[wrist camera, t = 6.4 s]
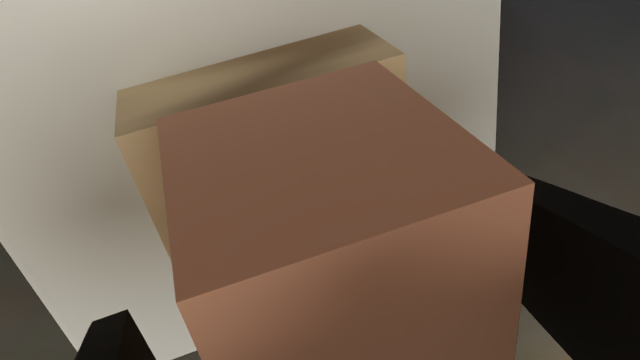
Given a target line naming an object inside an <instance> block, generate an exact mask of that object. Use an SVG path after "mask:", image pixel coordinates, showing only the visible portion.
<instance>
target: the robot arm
mask: <svg viewBox="0 0 640 360" xmlns="http://www.w3.org/2000/svg"><path fill="white" fill-rule="evenodd" d="M527 177H528V178H529V179H531V180H532V181H533V182H535V187H534V195H533V204H532V213H531V221H530V230H529V239H528V247H527V256H526V265H525V274H524V282H523V291H522V300H521V303H522V304H523V305H524V306H525V308H526V309H527V310H528V311H529V312H530V313H531V314H532V315H533V317H534V318H535V319H536V320H537V321H538V322H539V323H540V324H541V325H542V326H543V328H544V329H545V330H546V331H547V332H548V333H549V334H550V335H551V336H552V337H553V338H554V340H555V341H556V342H557V343H558V344H559V345H560V346H561V347H562V348H563V349H564V350H565V352H566V353H567V354H568V355H569V356H570V357H571V358H572V359H573V360H640V217H639V216H637V215H634V214H631V213H628V212H625V211H623V210H620V209H617V208H614V207H611V206H609V205H606V204H603V203H601V202H598V201H595V200H592V199H590V198H587V197H584V196H582V195H579V194H576V193H574V192H571V191H568V190H566V189H563V188H560V187H557V186H555V185H552V184H549V183H546V182H544V181H541V180H538V179H535V178H532V177H529V176H527ZM75 360H156V358H155V356H154V355H153V353H152V351H151V349H150V348H149V346H148V344H147V342H146V341H145V339H144V337H143V335H142V334H141V332H140V330H139V328H138V327H137V325H136V323H135V321H134V320H133V318H132V316H131V314H130V312H129V311H128V309H127V310H124V311H121V312H118V313H115V314H112V315H109V316H107V317H104V318H101V319H98V320H95V321H92V323H91V325H90V326H89V328H88V330H87V333H86V335H85V337H84V339H83V341H82V344H81V346H80V348H79V350H78V353H77V355H76V357H75Z"/></svg>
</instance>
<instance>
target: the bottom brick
mask: <svg viewBox="0 0 640 360" xmlns="http://www.w3.org/2000/svg"><path fill="white" fill-rule="evenodd" d="M375 60H376V61H377V62H378V63H380V64H381V65H382V66H383V67H385V68H386V69H387V70H389V71H390V72H391V73H393V74H394V75H395V76H397V77H398V78H399V79H400V80H402V81H403V82H404V83H406V84H407V76H406V62H405V53H403V52H402V51H400V50H399V49H397V48H396V47H394V46H393V45H391V44H390V43H388V42H387V41H385V40H384V39H382V38H381V37H379V36H378V35H376V34H374V33H373V32H371V31H370V30H368V29H367V28H365V27H364V26H362V25H361V24H358V25H355V26H351V27H347V28H344V29H340V30H337V31H333V32H329V33H326V34H322V35H318V36H315V37H311V38H307V39H304V40H300V41H296V42H293V43H289V44H285V45H282V46H278V47H275V48H271V49H267V50H264V51H260V52H256V53H253V54H249V55H245V56H242V57H238V58H234V59H231V60H227V61H223V62H220V63H216V64H213V65H209V66H205V67H202V68H198V69H194V70H191V71H187V72H183V73H180V74H176V75H172V76H169V77H165V78H162V79H158V80H154V81H151V82H147V83H143V84H140V85H136V86H132V87H129V88H125V89H121V90H118V91H117V102H116V119H115V136H114V138H115V140H116V142H117V144H118V147H119V149H120V151H121V153H122V155H123V157H124V160H125V162H126V164H127V166H128V168H129V171H130V173H131V175H132V177H133V179H134V181H135V184H136V186H137V188H138V190H139V192H140V195H141V197H142V199H143V201H144V203H145V205H146V208H147V210H148V212H149V214H150V216H151V219H152V221H153V223H154V225H155V227H156V229H157V232H158V234H159V236H160V238H161V240H162V242H163V245H164V247H165V249H166V251H167V253H168V256H169V258H170V260H171V252H170V243H169V233H168V224H167V214H166V205H165V196H164V186H163V177H162V167H161V158H160V148H159V139H158V130H157V120H156V119H157V118H161V117H165V116H169V115H172V114H176V113H180V112H184V111H187V110H191V109H195V108H199V107H202V106H206V105H210V104H214V103H217V102H221V101H225V100H229V99H232V98H236V97H240V96H244V95H247V94H251V93H255V92H259V91H262V90H266V89H270V88H274V87H277V86H281V85H285V84H289V83H292V82H296V81H300V80H304V79H307V78H311V77H315V76H319V75H322V74H326V73H330V72H334V71H337V70H341V69H345V68H349V67H352V66H356V65H360V64H364V63H367V62H371V61H375ZM171 262H172V261H171Z"/></svg>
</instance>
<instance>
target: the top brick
mask: <svg viewBox="0 0 640 360" xmlns="http://www.w3.org/2000/svg"><path fill="white" fill-rule="evenodd" d="M156 120H157V130H158V139H159V148H160V158H161V167H162V177H163V186H164V196H165V205H166V214H167V224H168V233H169V243H170V252H171V261H172V271H173V280H174V290H175V299H176V304H177V307H178V309H179V311H180V313H181V315H182V318H183V320H184V322H185V324H186V327H187V329H188V331H189V333H190V336H191V338H192V340H193V342H194V345H195V347H196V349H197V351H198V353H199V356H200V358H201V360H515V352H516V343H517V334H518V326H519V317H520V308H521V300H522V291H523V282H524V274H525V265H526V256H527V247H528V239H529V230H530V221H531V213H532V204H533V195H534V187H535V182H533V181H532V180H531V179H529V178H528V177H527V176H526V175H524V174H523V173H522V172H520V171H519V170H518V169H516V168H515V167H514V166H513V165H511V164H510V163H509V162H507V161H506V160H505V159H503V158H502V157H501V156H499V155H498V154H497V153H496V152H494V151H493V150H492V149H490V148H489V147H488V146H486V145H485V144H484V143H483V142H481V141H480V140H479V139H477V138H476V137H475V136H473V135H472V134H471V133H470V132H468V131H467V130H466V129H464V128H463V127H462V126H460V125H459V124H458V123H456V122H455V121H454V120H453V119H451V118H450V117H449V116H447V115H446V114H445V113H443V112H442V111H441V110H440V109H438V108H437V107H436V106H434V105H433V104H432V103H430V102H429V101H428V100H426V99H425V98H424V97H423V96H421V95H420V94H419V93H417V92H416V91H415V90H413V89H412V88H411V87H410V86H408V85H407V84H406V83H404V82H403V81H402V80H400V79H399V78H398V77H397V76H395V75H394V74H393V73H391V72H390V71H389V70H387V69H386V68H385V67H383V66H382V65H381V64H380V63H378V62H377V61H376V60H375V61H371V62H367V63H364V64H360V65H356V66H352V67H349V68H345V69H341V70H337V71H334V72H330V73H326V74H322V75H319V76H315V77H311V78H307V79H304V80H300V81H296V82H292V83H289V84H285V85H281V86H277V87H274V88H270V89H266V90H262V91H259V92H255V93H251V94H247V95H244V96H240V97H236V98H232V99H229V100H225V101H221V102H217V103H214V104H210V105H206V106H202V107H199V108H195V109H191V110H187V111H184V112H180V113H176V114H172V115H169V116H165V117H161V118H157V119H156Z"/></svg>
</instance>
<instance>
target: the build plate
mask: <svg viewBox="0 0 640 360" xmlns="http://www.w3.org/2000/svg"><path fill="white" fill-rule="evenodd" d="M500 11H501V0H0V242H1V244H2V245H3V246H4V248H5V249H6V251H7V252H8V254H9V255H10V256H11V258H12V259H13V261H14V262H15V264H16V265H17V266H18V268H19V269H20V271H21V272H22V274H23V275H24V276H25V278H26V279H27V281H28V282H29V283H30V285H31V286H32V288H33V289H34V291H35V292H36V293H37V295H38V296H39V298H40V299H41V301H42V302H43V303H44V305H45V306H46V308H47V309H48V311H49V312H50V313H51V315H52V316H53V318H54V319H55V320H56V322H57V323H58V325H59V326H60V328H61V329H62V330H63V332H64V333H65V335H66V336H67V338H68V339H69V340H70V342H71V343H72V345H73V346H74V348H75V349H76V350H77V352H78V350H79V348H80V346H81V344H82V341H83V339H84V337H85V335H86V333H87V330H88V328H89V326H90V325H91V323H92V321H95V320H98V319H101V318H104V317H107V316H109V315H112V314H115V313H118V312H121V311H124V310H127V309H128V311H129V312H130V314H131V316H132V318H133V320H134V321H135V323H136V325H137V327H138V328H139V330H140V332H141V334H142V335H143V337H144V339H145V341H146V342H147V344H148V346H149V348H150V349H151V351H152V353H153V355H154V356H155V358H156V360H172V359H175V358H177V357H180V356H183V355H186V354H188V353H191V352H194V351H196V350H197V349H196V347H195V345H194V342H193V340H192V338H191V336H190V333H189V331H188V329H187V327H186V324H185V322H184V320H183V318H182V315H181V313H180V311H179V309H178V307H177V304H176V299H175V290H174V280H173V271H172V262H171V260H170V258H169V256H168V253H167V251H166V249H165V247H164V245H163V242H162V240H161V238H160V236H159V234H158V232H157V229H156V227H155V225H154V223H153V221H152V219H151V216H150V214H149V212H148V210H147V208H146V205H145V203H144V201H143V199H142V197H141V195H140V192H139V190H138V188H137V186H136V184H135V181H134V179H133V177H132V175H131V173H130V171H129V168H128V166H127V164H126V162H125V160H124V157H123V155H122V153H121V151H120V149H119V147H118V144H117V142H116V140H115V138H114V136H115V119H116V102H117V91H118V90H121V89H125V88H129V87H132V86H136V85H140V84H143V83H147V82H151V81H154V80H158V79H162V78H165V77H169V76H172V75H176V74H180V73H183V72H187V71H191V70H194V69H198V68H202V67H205V66H209V65H213V64H216V63H220V62H223V61H227V60H231V59H234V58H238V57H242V56H245V55H249V54H253V53H256V52H260V51H264V50H267V49H271V48H275V47H278V46H282V45H285V44H289V43H293V42H296V41H300V40H304V39H307V38H311V37H315V36H318V35H322V34H326V33H329V32H333V31H337V30H340V29H344V28H347V27H351V26H355V25H358V24H361V25H362V26H364V27H365V28H367V29H368V30H370V31H371V32H373V33H374V34H376V35H378V36H379V37H381V38H382V39H384V40H385V41H387V42H388V43H390V44H391V45H393V46H394V47H396V48H397V49H399V50H400V51H402V52H403V53H405V62H406V76H407V85H408V86H410V87H411V88H412V89H413V90H415V91H416V92H417V93H419V94H420V95H421V96H423V97H424V98H425V99H426V100H428V101H429V102H430V103H432V104H433V105H434V106H436V107H437V108H438V109H440V110H441V111H442V112H443V113H445V114H446V115H447V116H449V117H450V118H451V119H453V120H454V121H455V122H456V123H458V124H459V125H460V126H462V127H463V128H464V129H466V130H467V131H468V132H470V133H471V134H472V135H473V136H475V137H476V138H477V139H479V140H480V141H481V142H483V143H484V144H485V145H486V146H488V147H489V148H490V149H492V150H493V151H494V152H495V145H496V118H497V91H498V64H499V37H500Z"/></svg>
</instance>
